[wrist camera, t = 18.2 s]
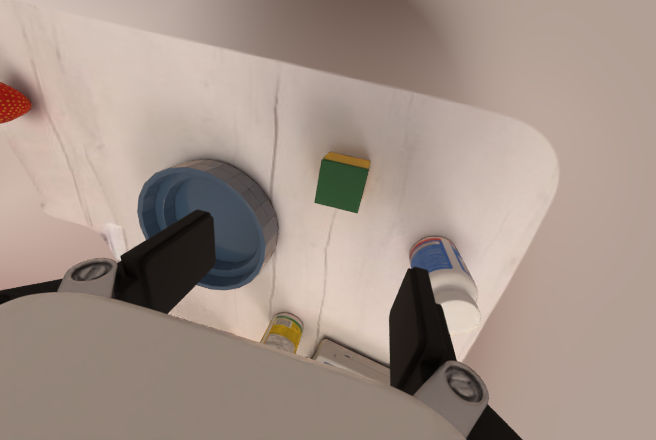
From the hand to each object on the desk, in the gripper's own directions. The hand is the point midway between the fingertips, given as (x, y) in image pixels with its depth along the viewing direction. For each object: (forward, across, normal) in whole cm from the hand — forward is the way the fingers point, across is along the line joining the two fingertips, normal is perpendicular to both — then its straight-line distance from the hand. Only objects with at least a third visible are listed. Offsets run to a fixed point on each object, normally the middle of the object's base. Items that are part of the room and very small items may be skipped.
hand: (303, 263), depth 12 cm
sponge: (+18, 0, +1) cm, 18 cm away
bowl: (+18, +15, +11) cm, 26 cm away
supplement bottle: (+17, +4, +27) cm, 32 cm away
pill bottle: (+18, -12, +8) cm, 23 cm away
